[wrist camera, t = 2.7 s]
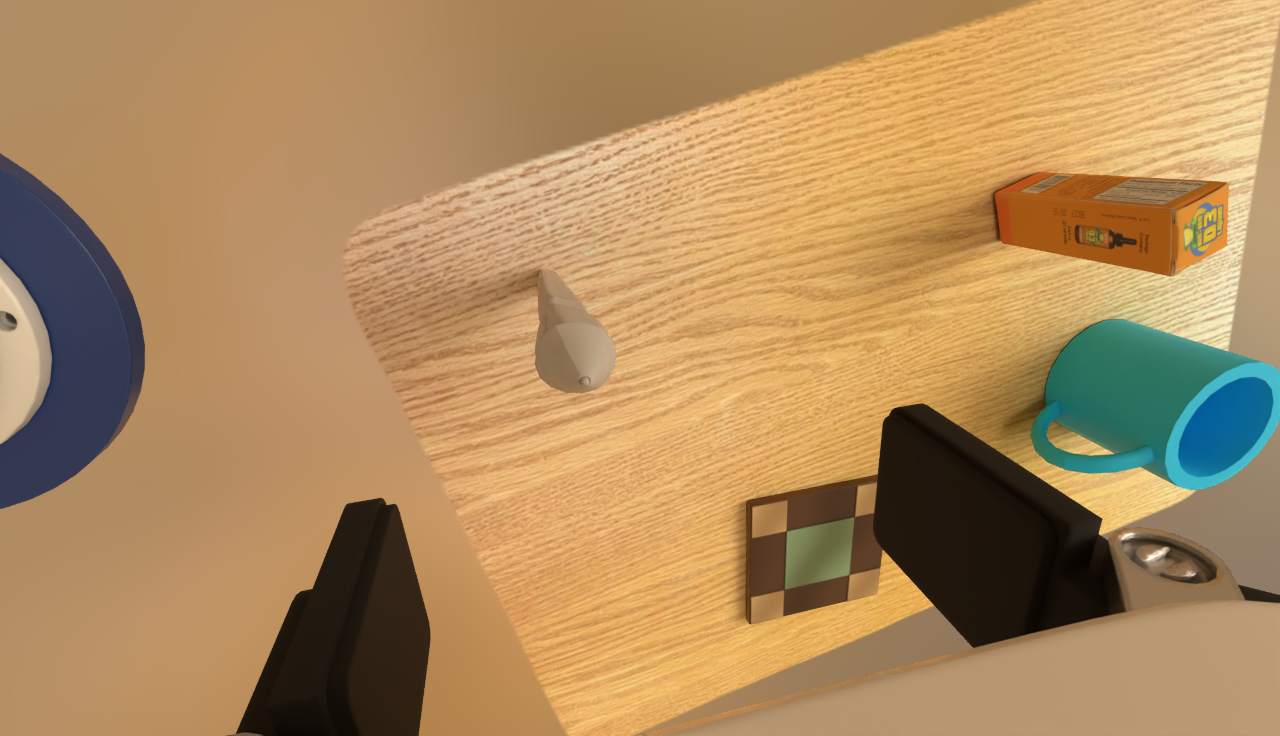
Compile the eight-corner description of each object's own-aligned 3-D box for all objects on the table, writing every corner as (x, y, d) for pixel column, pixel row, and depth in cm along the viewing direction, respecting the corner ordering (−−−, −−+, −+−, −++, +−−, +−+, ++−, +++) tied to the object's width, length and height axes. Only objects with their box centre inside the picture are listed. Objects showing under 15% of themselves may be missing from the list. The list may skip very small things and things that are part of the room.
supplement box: (1047, 220, 36) (1232, 252, 27) (997, 243, 36) (1167, 283, 27) (1043, 166, 35) (1237, 180, 26) (991, 189, 35) (1169, 213, 26)
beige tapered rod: (564, 306, 31) (615, 428, 19) (513, 293, 31) (531, 412, 18) (577, 260, 31) (640, 354, 18) (525, 245, 30) (552, 334, 17)
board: (745, 618, 43) (749, 626, 42) (746, 500, 39) (751, 506, 38) (872, 588, 45) (878, 595, 44) (885, 473, 41) (892, 478, 40)
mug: (1142, 297, 40) (1289, 336, 33) (1149, 393, 44) (1283, 447, 36) (987, 383, 40) (1100, 441, 33) (1007, 472, 43) (1113, 544, 36)
